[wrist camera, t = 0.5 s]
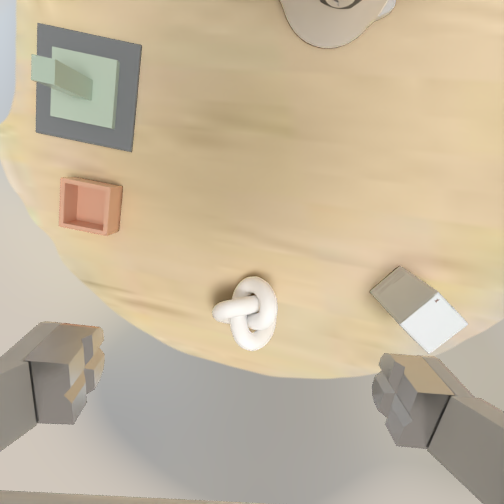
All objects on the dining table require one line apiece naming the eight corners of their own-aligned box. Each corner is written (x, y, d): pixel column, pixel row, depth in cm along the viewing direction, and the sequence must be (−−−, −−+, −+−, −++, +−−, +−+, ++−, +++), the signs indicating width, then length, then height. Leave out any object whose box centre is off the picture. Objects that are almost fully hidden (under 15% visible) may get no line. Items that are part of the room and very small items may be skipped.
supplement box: (368, 291, 56) (397, 323, 44) (399, 264, 55) (439, 290, 43) (393, 317, 58) (429, 356, 45) (425, 291, 56) (471, 324, 44)
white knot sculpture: (237, 258, 55) (233, 274, 47) (294, 288, 57) (300, 309, 48) (210, 308, 58) (201, 332, 49) (265, 336, 59) (266, 363, 51)
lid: (56, 48, 47) (3, 16, 38) (119, 62, 47) (84, 33, 38) (54, 116, 50) (4, 103, 40) (114, 129, 50) (79, 118, 40)
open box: (77, 177, 52) (60, 177, 48) (122, 186, 53) (110, 187, 48) (74, 222, 54) (58, 226, 50) (119, 230, 55) (106, 235, 50)
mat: (39, 24, 47) (37, 22, 46) (141, 46, 47) (140, 45, 47) (37, 132, 51) (35, 132, 50) (132, 152, 51) (131, 151, 51)
